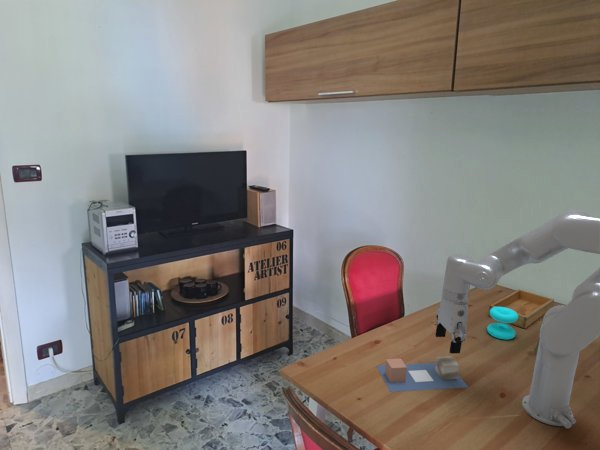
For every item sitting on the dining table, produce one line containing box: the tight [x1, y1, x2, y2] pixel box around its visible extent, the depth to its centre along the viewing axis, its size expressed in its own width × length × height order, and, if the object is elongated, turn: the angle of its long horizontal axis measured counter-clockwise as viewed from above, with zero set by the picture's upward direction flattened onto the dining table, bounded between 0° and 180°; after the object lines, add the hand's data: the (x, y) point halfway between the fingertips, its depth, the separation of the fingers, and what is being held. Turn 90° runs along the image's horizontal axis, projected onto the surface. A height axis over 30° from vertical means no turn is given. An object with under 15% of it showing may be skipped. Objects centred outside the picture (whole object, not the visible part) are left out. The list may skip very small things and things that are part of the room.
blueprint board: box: [376, 362, 469, 393], centre depth 134 cm, size 14×25×1 cm, turn 97°
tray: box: [488, 289, 555, 329], centre depth 183 cm, size 31×15×6 cm, turn 131°
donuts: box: [486, 307, 518, 341], centre depth 162 cm, size 10×10×10 cm
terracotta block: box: [385, 358, 407, 383], centre depth 132 cm, size 5×5×5 cm
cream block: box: [435, 355, 460, 380], centre depth 134 cm, size 5×5×5 cm
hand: (447, 344), depth 133 cm, fingers open, 9 cm apart
